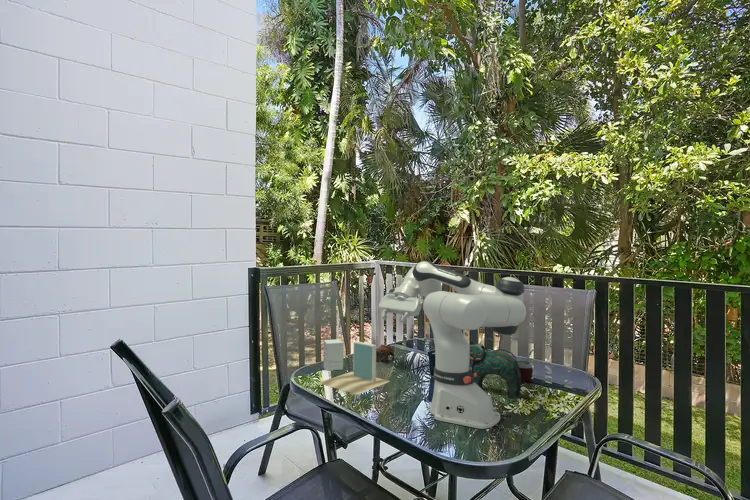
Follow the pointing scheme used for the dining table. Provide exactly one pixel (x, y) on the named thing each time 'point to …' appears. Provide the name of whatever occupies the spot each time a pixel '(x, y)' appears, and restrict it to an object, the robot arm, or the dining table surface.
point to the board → (353, 383)
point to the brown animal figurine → (384, 353)
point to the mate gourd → (526, 370)
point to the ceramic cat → (495, 366)
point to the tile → (364, 361)
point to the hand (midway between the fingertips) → (392, 320)
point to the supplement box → (333, 354)
